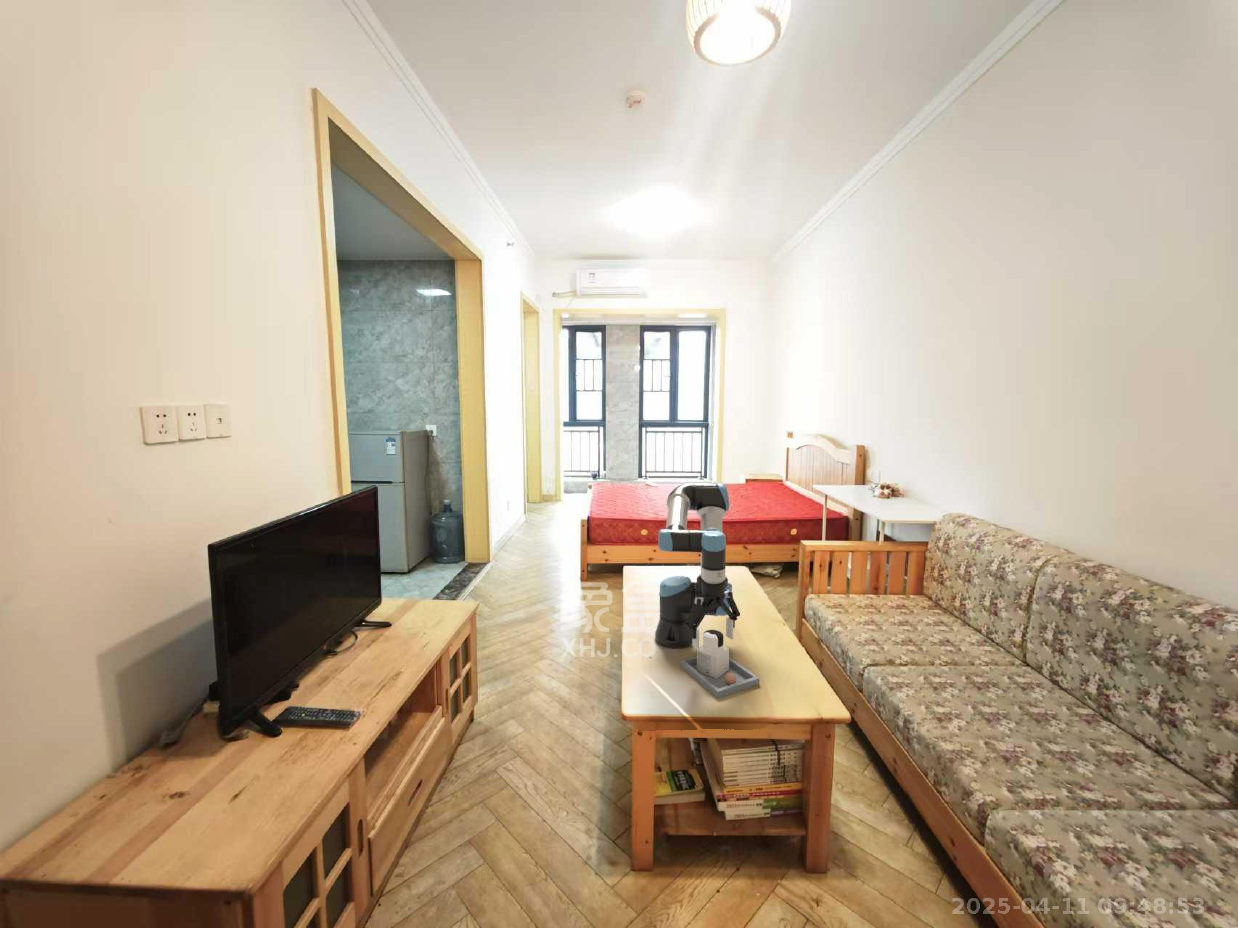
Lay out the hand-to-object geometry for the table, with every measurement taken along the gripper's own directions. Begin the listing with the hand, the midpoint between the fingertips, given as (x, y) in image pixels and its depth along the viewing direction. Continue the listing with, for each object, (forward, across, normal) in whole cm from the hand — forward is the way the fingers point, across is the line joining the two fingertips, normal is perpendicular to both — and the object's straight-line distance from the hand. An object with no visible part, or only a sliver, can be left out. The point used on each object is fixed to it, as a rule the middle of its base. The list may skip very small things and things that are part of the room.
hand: (713, 642), depth 155 cm
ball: (+9, 0, -10) cm, 13 cm away
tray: (+10, 0, -4) cm, 11 cm away
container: (+10, 0, -1) cm, 10 cm away
